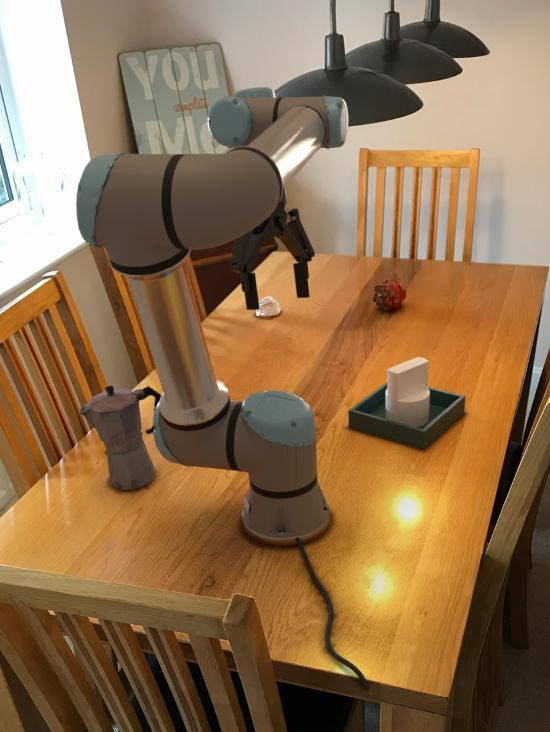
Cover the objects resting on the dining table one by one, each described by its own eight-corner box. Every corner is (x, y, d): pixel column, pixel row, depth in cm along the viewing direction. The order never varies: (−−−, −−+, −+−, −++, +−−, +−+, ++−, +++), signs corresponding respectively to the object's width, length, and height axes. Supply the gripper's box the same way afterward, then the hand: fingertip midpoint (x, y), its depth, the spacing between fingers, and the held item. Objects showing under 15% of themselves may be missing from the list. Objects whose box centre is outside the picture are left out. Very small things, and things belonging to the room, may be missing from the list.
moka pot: (89, 478, 164) (68, 385, 152) (163, 456, 169) (148, 364, 158) (103, 501, 156) (82, 405, 145) (180, 477, 162) (165, 383, 150)
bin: (464, 413, 176) (465, 395, 174) (423, 450, 165) (424, 431, 163) (392, 394, 185) (392, 377, 183) (348, 427, 174) (348, 410, 172)
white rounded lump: (275, 323, 225) (275, 306, 222) (251, 320, 227) (251, 303, 223) (282, 309, 231) (282, 293, 228) (259, 307, 233) (258, 290, 229)
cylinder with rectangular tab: (405, 432, 170) (407, 379, 163) (376, 417, 176) (376, 364, 169) (437, 418, 174) (440, 365, 167) (408, 403, 180) (409, 351, 173)
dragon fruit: (380, 322, 223) (392, 312, 233) (406, 305, 219) (417, 295, 229) (363, 294, 222) (375, 285, 232) (389, 277, 217) (400, 269, 227)
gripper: (296, 181, 162) (308, 293, 169) (198, 191, 146) (216, 314, 153) (325, 176, 157) (336, 292, 164) (227, 187, 141) (244, 315, 148)
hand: (278, 303), depth 159 cm, fingers open, 13 cm apart
